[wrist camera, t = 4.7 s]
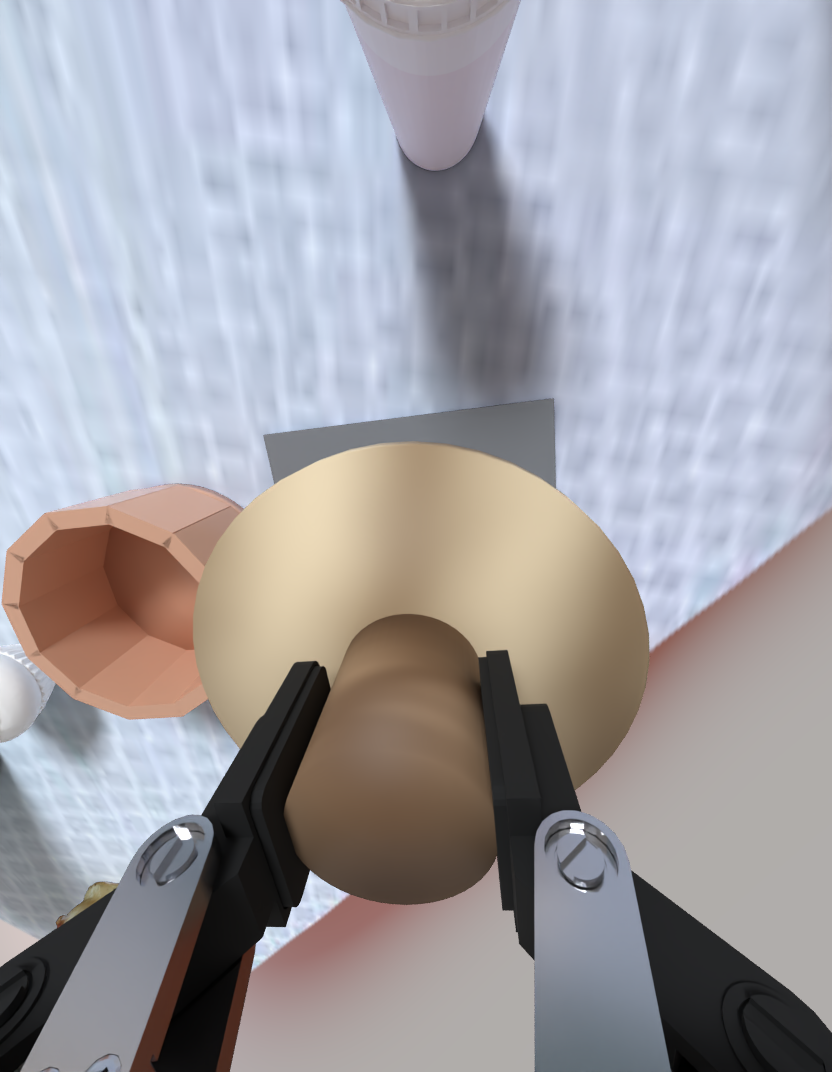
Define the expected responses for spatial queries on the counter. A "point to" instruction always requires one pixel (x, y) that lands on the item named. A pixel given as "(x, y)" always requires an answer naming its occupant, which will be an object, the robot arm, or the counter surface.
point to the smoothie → (434, 68)
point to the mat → (432, 437)
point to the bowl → (118, 596)
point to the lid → (416, 648)
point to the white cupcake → (20, 691)
